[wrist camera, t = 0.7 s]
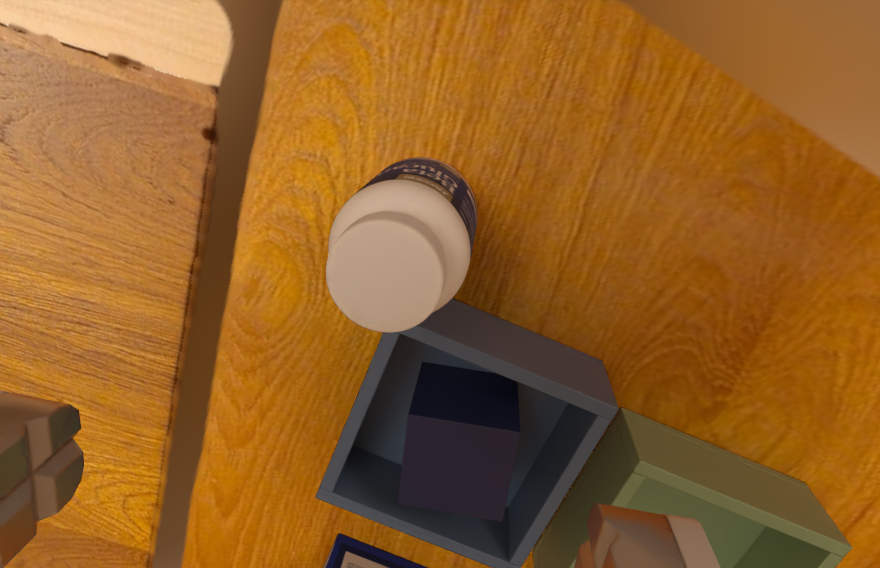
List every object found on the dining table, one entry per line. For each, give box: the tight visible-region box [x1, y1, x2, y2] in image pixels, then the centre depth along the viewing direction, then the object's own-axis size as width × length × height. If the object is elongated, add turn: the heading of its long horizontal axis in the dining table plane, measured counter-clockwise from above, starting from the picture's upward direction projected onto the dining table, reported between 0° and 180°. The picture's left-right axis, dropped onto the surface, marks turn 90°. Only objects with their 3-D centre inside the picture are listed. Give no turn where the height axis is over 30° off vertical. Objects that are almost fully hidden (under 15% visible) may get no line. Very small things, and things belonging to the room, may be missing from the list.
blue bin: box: [316, 299, 619, 568], centre depth 30 cm, size 11×11×5 cm
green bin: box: [533, 407, 852, 568], centre depth 31 cm, size 11×11×5 cm
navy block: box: [397, 362, 521, 522], centre depth 29 cm, size 5×5×5 cm
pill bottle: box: [326, 157, 477, 333], centre depth 24 cm, size 5×5×10 cm
